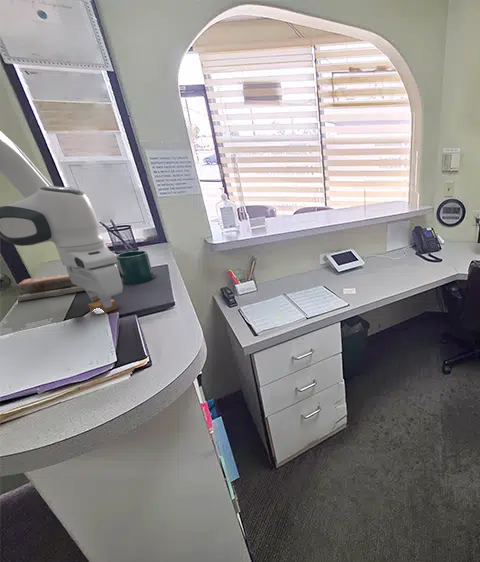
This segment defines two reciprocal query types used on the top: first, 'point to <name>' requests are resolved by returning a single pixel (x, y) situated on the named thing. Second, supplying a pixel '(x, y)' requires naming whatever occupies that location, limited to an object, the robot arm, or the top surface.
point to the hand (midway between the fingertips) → (102, 304)
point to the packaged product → (46, 287)
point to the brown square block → (98, 305)
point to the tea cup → (135, 267)
